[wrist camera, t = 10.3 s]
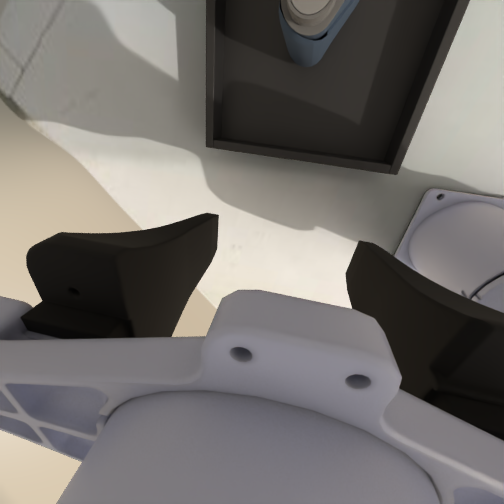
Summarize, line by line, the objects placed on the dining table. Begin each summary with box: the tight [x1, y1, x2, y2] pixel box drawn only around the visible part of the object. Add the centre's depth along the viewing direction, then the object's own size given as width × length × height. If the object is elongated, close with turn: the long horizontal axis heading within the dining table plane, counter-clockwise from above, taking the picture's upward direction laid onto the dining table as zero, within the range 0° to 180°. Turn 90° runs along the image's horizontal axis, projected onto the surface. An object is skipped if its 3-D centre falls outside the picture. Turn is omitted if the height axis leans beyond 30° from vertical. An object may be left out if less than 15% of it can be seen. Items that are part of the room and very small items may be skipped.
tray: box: [206, 0, 470, 175], centre depth 14 cm, size 14×16×2 cm
